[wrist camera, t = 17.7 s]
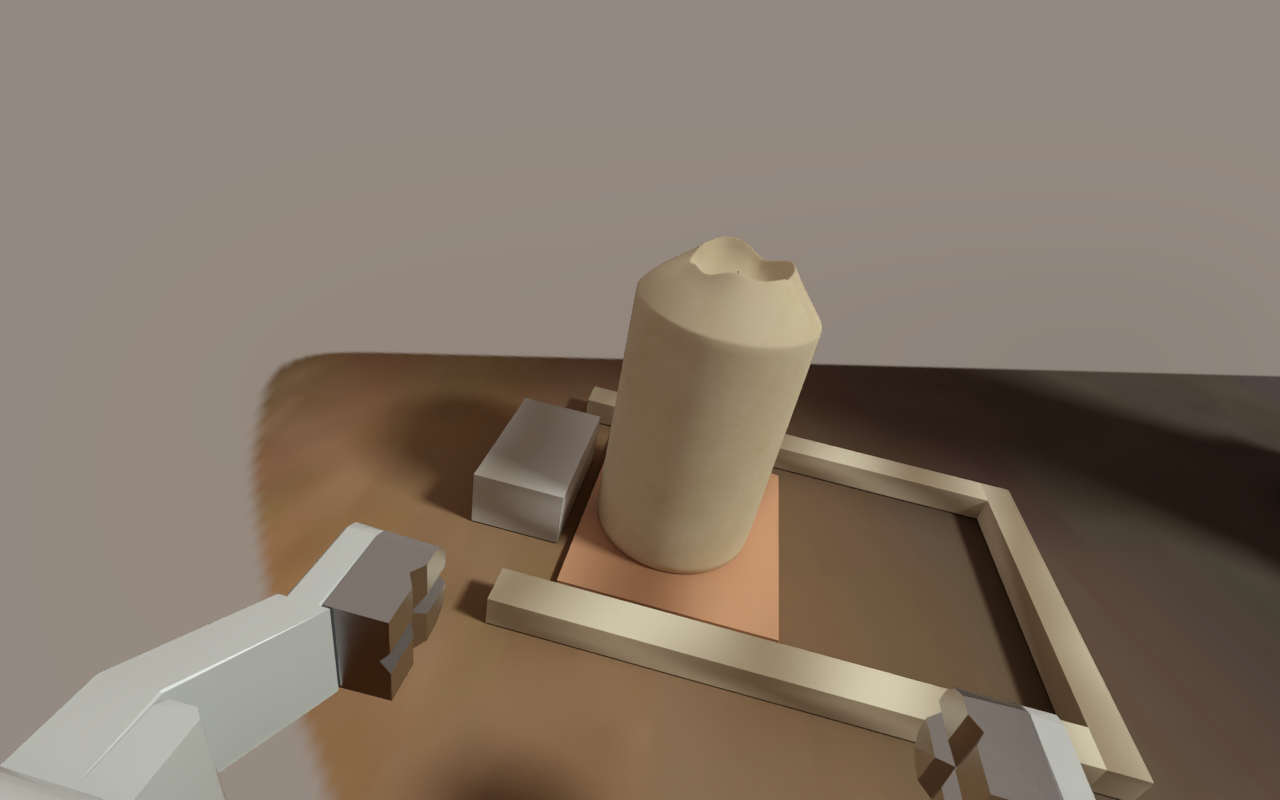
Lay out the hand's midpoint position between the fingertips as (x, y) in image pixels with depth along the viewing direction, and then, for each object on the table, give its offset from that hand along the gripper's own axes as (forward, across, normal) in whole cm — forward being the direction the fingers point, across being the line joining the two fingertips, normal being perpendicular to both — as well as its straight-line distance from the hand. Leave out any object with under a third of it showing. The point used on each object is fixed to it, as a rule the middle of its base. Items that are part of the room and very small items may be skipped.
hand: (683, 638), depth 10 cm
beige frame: (+11, -4, +7) cm, 14 cm away
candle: (+11, 0, +7) cm, 13 cm away
